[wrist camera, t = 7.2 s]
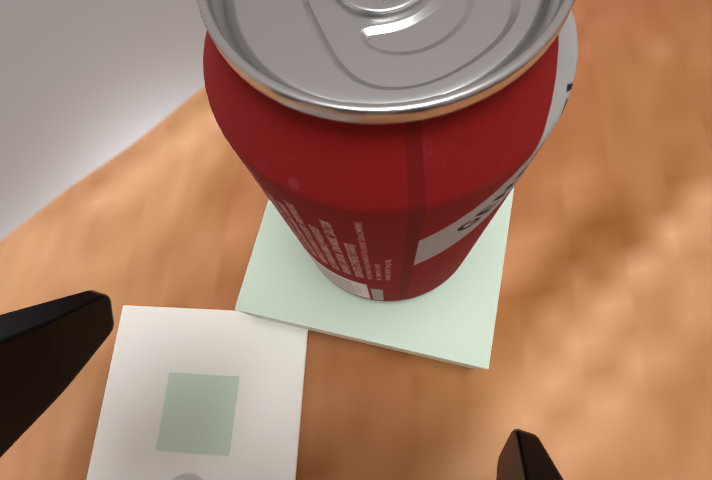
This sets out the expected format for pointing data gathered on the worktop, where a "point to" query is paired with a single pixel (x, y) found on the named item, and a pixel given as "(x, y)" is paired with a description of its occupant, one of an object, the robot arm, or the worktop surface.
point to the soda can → (388, 121)
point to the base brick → (374, 318)
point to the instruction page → (201, 397)
